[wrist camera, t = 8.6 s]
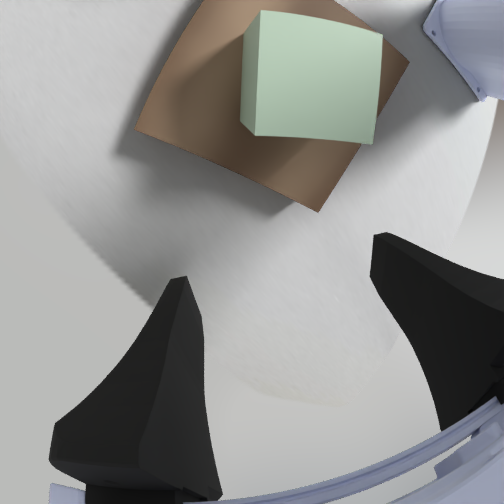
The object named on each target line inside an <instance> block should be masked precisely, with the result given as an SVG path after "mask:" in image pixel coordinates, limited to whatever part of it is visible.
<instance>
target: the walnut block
mask: <svg viewBox="0 0 504 504" xmlns="http://www.w3.org/2000/svg"><path fill="white" fill-rule="evenodd" d="M260 10H266V11H276V12H284V13H292V14H298V15H304V16H310V17H316V18H321V19H326V20H330V21H335V22H339V23H343V24H347V25H351V26H355V27H359V28H362V29H366V30H369V31H373V32H376V31H374V30H373V29H372V28H371V27H369V26H368V25H367V24H366V23H364V22H363V21H362V20H360V19H359V18H358V17H357V16H355V15H354V14H352V13H351V12H350V11H348V10H347V9H345V8H344V7H343V6H341V5H340V4H338V3H337V2H335V1H334V0H204V1H203V2H202V4H201V5H200V7H199V8H198V10H197V11H196V13H195V14H194V16H193V17H192V19H191V20H190V22H189V23H188V25H187V27H186V28H185V30H184V31H183V33H182V35H181V36H180V38H179V40H178V42H177V43H176V45H175V47H174V48H173V50H172V52H171V54H170V56H169V57H168V59H167V61H166V63H165V65H164V67H163V69H162V70H161V72H160V74H159V76H158V78H157V80H156V82H155V84H154V86H153V88H152V90H151V92H150V94H149V97H148V99H147V101H146V103H145V105H144V107H143V110H142V112H141V114H140V116H139V119H138V121H137V123H136V126H135V128H134V130H136V131H139V132H141V133H144V134H147V135H149V136H152V137H154V138H157V139H159V140H162V141H164V142H167V143H169V144H172V145H174V146H176V147H179V148H181V149H184V150H186V151H188V152H191V153H193V154H195V155H198V156H200V157H202V158H205V159H207V160H209V161H212V162H214V163H216V164H218V165H221V166H223V167H225V168H227V169H229V170H232V171H234V172H236V173H238V174H240V175H243V176H245V177H247V178H249V179H251V180H253V181H255V182H257V183H260V184H262V185H264V186H266V187H268V188H270V189H272V190H274V191H276V192H278V193H280V194H282V195H284V196H286V197H288V198H290V199H292V200H294V201H296V202H298V203H300V204H302V205H304V206H306V207H308V208H310V209H312V210H314V211H316V212H319V211H320V209H321V208H322V206H323V205H324V203H325V201H326V200H327V198H328V197H329V195H330V194H331V192H332V190H333V189H334V187H335V186H336V184H337V183H338V181H339V179H340V178H341V176H342V175H343V173H344V171H345V170H346V168H347V167H348V165H349V163H350V162H351V160H352V159H353V157H354V155H355V154H356V152H357V151H358V149H359V147H360V146H361V144H362V143H355V142H346V141H337V140H326V139H314V138H300V137H282V136H255V135H254V134H253V133H252V132H251V131H250V130H249V129H248V128H247V127H246V126H245V125H243V124H242V123H241V122H240V107H241V80H242V56H243V35H244V32H245V31H246V29H247V28H248V26H249V25H250V24H251V22H252V21H253V20H254V18H255V17H256V16H257V14H258V13H259V12H260ZM376 33H377V32H376ZM408 64H409V61H408V60H407V59H406V58H405V57H404V56H403V55H402V54H401V53H400V52H399V51H398V50H396V49H395V48H394V47H393V46H392V45H391V44H390V43H389V42H387V41H386V40H385V39H384V38H382V59H381V74H380V86H379V97H378V107H377V115H376V119H377V118H378V116H379V114H380V113H381V111H382V109H383V107H384V106H385V104H386V102H387V101H388V99H389V97H390V96H391V94H392V92H393V90H394V89H395V87H396V85H397V84H398V82H399V80H400V78H401V77H402V75H403V73H404V71H405V70H406V68H407V66H408Z"/></svg>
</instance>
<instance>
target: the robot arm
mask: <svg viewBox="0 0 504 504" xmlns="http://www.w3.org/2000/svg"><path fill="white" fill-rule="evenodd" d="M423 30H424V32H425V33H426V34H427V35H428V36H429V37H430V38H431V40H432V41H433V42H434V43H435V44H436V45H437V46H438V47H439V48H440V50H441V51H442V52H443V53H444V54H445V55H446V57H447V58H448V59H449V60H450V61H451V63H452V64H453V65H454V66H455V68H456V69H457V70H458V71H459V73H460V74H461V75H462V77H463V78H464V79H465V81H466V82H467V83H468V85H469V86H470V88H471V89H472V90H473V92H474V93H475V95H476V96H477V98H478V99H479V100H480V101H482V102H484V101H485V100H486V98H487V96H490V97H494V98H497V99H501V100H504V0H437V1H436V3H435V4H434V6H433V8H432V10H431V12H430V13H429V15H428V17H427V19H426V21H425V22H424V24H423ZM432 32H433V34H432ZM370 278H371V280H372V282H373V284H374V286H375V288H376V290H377V292H378V294H379V296H380V297H381V299H382V300H383V302H384V303H385V305H386V306H387V308H388V309H389V311H390V312H391V314H392V315H393V317H394V318H395V320H396V321H397V323H398V324H399V326H400V327H401V329H402V330H403V332H404V333H405V335H406V336H407V338H408V340H409V342H410V343H411V345H412V347H413V349H414V351H415V353H416V356H417V358H418V360H419V362H420V365H421V367H422V369H423V372H424V374H425V377H426V379H427V382H428V385H429V388H430V391H431V394H432V397H433V400H434V404H435V408H436V411H437V416H438V419H439V425H440V429H441V431H442V432H440V433H438V434H437V435H435V436H433V437H431V438H429V439H427V440H425V441H424V442H422V443H420V444H418V445H416V446H414V447H412V448H410V449H408V450H406V451H404V452H401V453H399V454H397V455H395V456H392V457H390V458H388V459H385V460H383V461H381V462H378V463H376V464H373V465H371V466H368V467H366V468H363V469H361V470H358V471H355V472H352V473H349V474H346V475H343V476H340V477H337V478H333V479H330V480H327V481H323V482H320V483H316V484H313V485H309V486H305V487H301V488H297V489H292V490H288V491H283V492H278V493H273V494H267V495H262V496H255V497H248V498H240V499H232V500H223V501H222V500H221V501H218V499H220V497H221V496H222V495H223V493H222V489H221V485H220V481H219V477H218V473H217V469H216V464H215V459H214V454H213V450H212V445H211V439H210V433H209V427H208V421H207V413H206V407H205V395H204V334H203V325H202V317H201V314H200V311H199V308H198V306H197V303H196V300H195V297H194V295H193V292H192V289H191V286H190V284H189V281H188V278H187V276H183V277H179V278H174V279H171V280H170V281H169V283H168V285H167V286H166V288H165V290H164V292H163V294H162V296H161V297H160V299H159V301H158V303H157V305H156V307H155V308H154V310H153V312H152V314H151V315H150V317H149V319H148V321H147V322H146V324H145V326H144V327H143V329H142V330H141V332H140V333H139V335H138V337H137V338H136V340H135V342H134V343H133V344H132V346H131V347H130V348H129V350H128V351H127V352H126V354H125V355H124V356H123V358H122V359H121V360H120V362H119V363H118V364H117V365H116V367H115V368H114V369H113V370H112V371H111V372H110V373H109V374H108V375H107V377H106V378H105V379H104V380H103V381H102V382H101V383H100V384H99V385H98V386H97V388H95V389H94V391H92V393H90V394H89V395H88V396H87V397H86V398H85V399H84V400H83V401H82V402H81V403H80V404H79V405H77V406H76V407H75V408H74V409H73V410H71V411H70V412H69V413H67V414H66V415H65V416H64V417H62V418H61V419H60V420H59V421H57V422H56V423H55V425H54V430H53V436H52V441H51V447H50V454H49V461H50V463H51V464H52V465H53V466H54V467H55V468H56V469H58V470H60V471H61V472H63V473H65V474H67V475H69V476H71V477H73V478H75V479H77V480H79V481H81V482H83V483H85V484H86V491H83V490H80V489H76V488H72V487H67V486H63V485H59V484H54V483H51V484H50V492H49V504H324V503H328V502H331V501H334V500H337V499H341V498H344V497H347V496H350V495H352V494H356V493H358V492H361V491H364V490H366V489H369V488H372V487H374V486H377V485H379V484H382V483H384V482H386V481H389V480H391V479H393V478H395V477H398V476H400V475H402V474H404V473H406V472H408V471H410V470H412V469H414V468H416V467H418V466H420V465H422V464H424V463H426V462H428V461H429V460H431V459H433V458H435V457H437V456H438V455H440V454H442V453H443V452H445V451H447V450H449V449H450V448H452V447H453V446H455V445H456V444H458V443H460V442H461V441H463V440H464V439H466V438H467V437H469V436H470V435H472V436H471V440H470V441H469V442H467V443H466V444H465V445H463V446H461V447H460V448H459V449H457V450H456V451H455V452H454V453H453V454H451V455H450V456H449V457H447V458H446V459H444V460H443V461H442V462H440V463H438V464H437V465H435V467H434V469H435V471H436V474H437V479H435V480H434V481H432V482H430V483H428V484H427V485H424V486H423V487H421V488H419V489H417V490H415V491H413V492H411V493H409V494H407V495H405V496H403V497H401V498H398V499H396V500H394V501H392V502H389V503H387V504H504V279H500V278H496V277H493V276H489V275H486V274H482V273H479V272H476V271H474V270H471V269H468V268H466V267H463V266H460V265H458V264H456V263H453V262H451V261H449V260H447V259H444V258H442V257H440V256H438V255H436V254H434V253H431V252H429V251H427V250H425V249H423V248H421V247H419V246H417V245H415V244H413V243H411V242H409V241H407V240H405V239H402V238H400V237H398V236H396V235H393V234H391V233H388V232H385V233H380V234H376V235H374V238H373V249H372V260H371V269H370Z"/></svg>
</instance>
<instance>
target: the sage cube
mask: <svg viewBox="0 0 504 504" xmlns="http://www.w3.org/2000/svg"><path fill="white" fill-rule="evenodd" d="M382 38H383V35H382V34H379V33H376V32H373V31H369V30H366V29H362V28H359V27H355V26H351V25H347V24H343V23H339V22H335V21H330V20H326V19H321V18H316V17H310V16H304V15H298V14H292V13H284V12H276V11H266V10H260V12H259V13H258V14H257V16H256V17H255V18H254V20H253V21H252V22H251V24H250V25H249V26H248V28H247V29H246V31H245V32H244V35H243V56H242V80H241V107H240V122H241V123H242V124H243V125H245V126H246V127H247V128H248V129H249V130H250V131H251V132H252V133H253V134H254V135H255V136H282V137H300V138H314V139H326V140H337V141H346V142H355V143H363V144H371V145H373V139H374V131H375V124H376V115H377V107H378V97H379V86H380V74H381V59H382Z"/></svg>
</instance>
